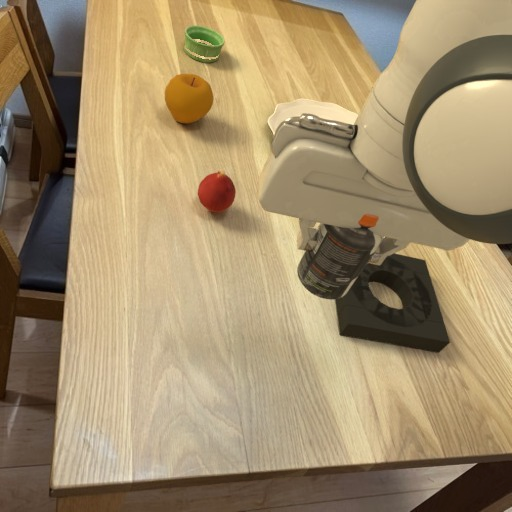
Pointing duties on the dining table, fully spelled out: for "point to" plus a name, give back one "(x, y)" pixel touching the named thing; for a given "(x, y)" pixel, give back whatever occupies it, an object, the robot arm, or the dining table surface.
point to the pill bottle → (338, 258)
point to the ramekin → (203, 48)
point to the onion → (216, 192)
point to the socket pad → (391, 319)
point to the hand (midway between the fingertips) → (338, 253)
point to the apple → (188, 97)
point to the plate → (310, 112)
